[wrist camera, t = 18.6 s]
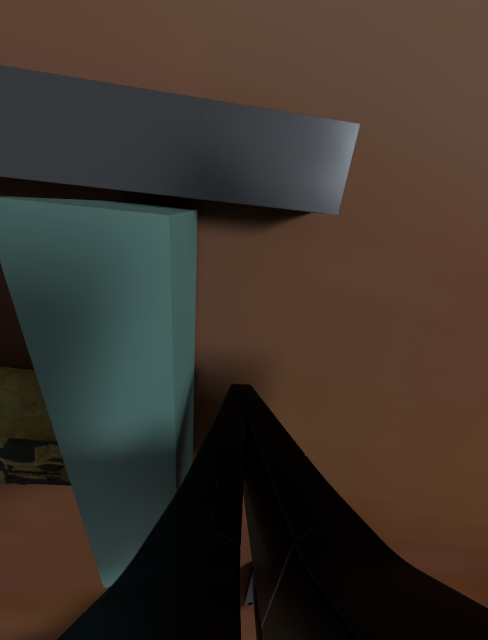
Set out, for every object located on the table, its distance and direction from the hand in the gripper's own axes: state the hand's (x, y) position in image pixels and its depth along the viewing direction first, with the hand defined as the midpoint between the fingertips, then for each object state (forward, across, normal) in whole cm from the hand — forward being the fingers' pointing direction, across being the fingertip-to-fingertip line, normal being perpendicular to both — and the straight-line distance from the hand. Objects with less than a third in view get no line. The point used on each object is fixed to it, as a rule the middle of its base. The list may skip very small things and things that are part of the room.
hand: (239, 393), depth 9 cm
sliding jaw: (+2, +3, 0) cm, 4 cm away
